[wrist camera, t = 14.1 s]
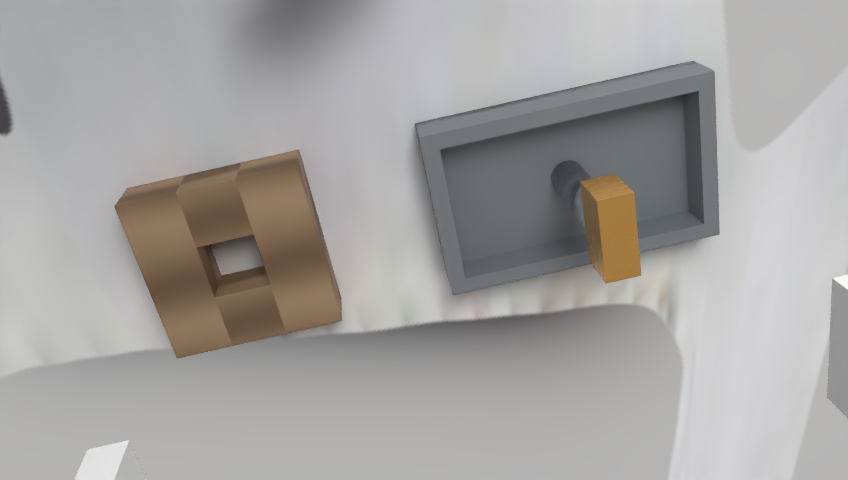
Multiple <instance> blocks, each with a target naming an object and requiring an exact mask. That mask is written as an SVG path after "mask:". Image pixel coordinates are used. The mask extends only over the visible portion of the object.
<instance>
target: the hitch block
mask: <svg viewBox="0 0 848 480" xmlns="http://www.w3.org/2000/svg"><path fill="white" fill-rule="evenodd" d="M114 207H115V209H116V212H117V214H118V216H119V219H120V221H121V224H122V226H123V229H124V231H125V233H126V236H127V238H128V241H129V243H130V246H131V248H132V250H133V253H134V255H135V258H136V260H137V263H138V265H139V267H140V270H141V272H142V275H143V277H144V280H145V282H146V284H147V287H148V289H149V292H150V294H151V297H152V299H153V301H154V304H155V306H156V309H157V311H158V314H159V316H160V318H161V321H162V323H163V326H164V328H165V331H166V333H167V335H168V338H169V340H170V343H171V345H172V348H173V350H174V352H175V354H176V357H177V358H181V357H186V356H190V355H194V354H199V353H203V352H208V351H211V350H216V349H220V348H224V347H229V346H234V345H238V344H243V343H247V342H251V341H256V340H260V339H264V338H269V337H273V336H277V335H282V334H286V333H291V332H295V331H299V330H304V329H308V328H312V327H317V326H321V325H326V324H330V323H334V322H339V321H342V313H341V296H340V292H339V289H338V285H337V282H336V278H335V275H334V271H333V268H332V264H331V261H330V257H329V254H328V250H327V247H326V243H325V240H324V236H323V233H322V229H321V226H320V222H319V219H318V215H317V212H316V208H315V205H314V201H313V198H312V194H311V191H310V187H309V184H308V180H307V177H306V173H305V170H304V166H303V163H302V159H301V156H300V152H299V150H296V151H291V152H287V153H282V154H278V155H274V156H269V157H265V158H260V159H256V160H251V161H247V162H243V163H238V164H234V165H229V166H225V167H220V168H216V169H212V170H207V171H203V172H198V173H194V174H189V175H185V176H181V177H176V178H172V179H167V180H163V181H158V182H154V183H150V184H145V185H141V186H136V187H132V188H127V189H126V191H125V192H124V194H123V195H122V197H121V198H120V199H119V201H118V202H117V204H116V205H115V206H114ZM250 235H254V237H255V240H256V243H257V246H258V249H259V252H260V255H261V258H262V261H263V264H264V266H263V267H258V268H254V269H250V270H245V271H241V272H236V273H232V274H228V275H223V276H221V274H220V271H219V268H218V266H217V263H216V260H215V257H214V255H213V252H212V249H211V246H210V244H214V243H219V242H223V241H228V240H232V239H236V238H241V237H245V236H250Z"/></svg>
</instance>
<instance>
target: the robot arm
mask: <svg viewBox="0 0 848 480" xmlns="http://www.w3.org/2000/svg"><path fill="white" fill-rule="evenodd" d="M827 392H828V393H827V398H828V399H829V400H830V401H831V402H832V403H833V404H834V405H835V406H836V407H837V408H838V409H839V410H840V411H841V412H842V413H843V414H844V415H845V416H846V417H847V418H848V274H847V275H843V276H839V277H834V278H832V296H831V320H830V344H829V367H828V391H827ZM74 480H148V479H147V476H146V474H145V472H144V470H143V468H142V466H141V464H140V462H139V460H138V458H137V455H136V453H135V451H134V449H133V447H132V445H131V443H130V441H129V440H127V441H123V442H119V443H115V444H110V445H106V446H101V447H97V448H93V449H88V450H87V452H86V455H85V457H84V459H83V461H82V464H81V466H80V468H79V470H78V472H77V475H76V477H75V479H74Z"/></svg>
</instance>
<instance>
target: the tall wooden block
mask: <svg viewBox="0 0 848 480" xmlns="http://www.w3.org/2000/svg"><path fill="white" fill-rule="evenodd" d="M551 182H552V184H553V186H554V187H555V189H556V190H557V191H558V193H559V194H560V195H561V197H562V198H563V199H564V201H565V202H566V203H567V205H568V206H569V207H570V209H571V210H572V211H573V213H574V214H575V215H576V217H577V218H578V219H579V221H580V222H581V223H582V225H583V226H584V227H585V229H586V237H587V246H588V255H589V260H590V262H591V263H592V265H593V266H594V267H595V269H596V270H597V272H598V273H599V275H600V276H601V277H602V279H603V280H604V282H605V283H610V282H615V281H619V280H623V279H628V278H632V277H636V276H641V268H640V256H639V244H638V232H637V220H636V208H635V195H634V192H633V191H632V190H631V189H630V188H629V187H628V186H627V185H626V184H625V183H624V182H623V181H622V180H621V179H620V178H619V177H618V176H617V175H616V174H610V175H606V176H601V177H597V178H592V177H591V176H590V175H589V174H588V173H587V172H586V171H585V169H584V168H583V167H582V166H581V165H580V164H579V163H577V162H576V161H572V160H567V161H563V162H561V163H559V164H558V165H557V166H556V167H555V168H554V169H553V171H552V174H551Z"/></svg>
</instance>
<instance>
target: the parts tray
mask: <svg viewBox="0 0 848 480" xmlns="http://www.w3.org/2000/svg"><path fill="white" fill-rule="evenodd" d="M415 124H416V129H417V134H418V139H419V143H420V148H421V153H422V158H423V162H424V167H425V172H426V177H427V181H428V186H429V191H430V196H431V200H432V205H433V210H434V215H435V219H436V224H437V229H438V233H439V238H440V243H441V248H442V252H443V257H444V262H445V267H446V271H447V276H448V279H449V282H450V286H451V289H452V293H453V295H457V294H461V293H465V292H470V291H474V290H478V289H483V288H487V287H491V286H496V285H500V284H505V283H509V282H513V281H518V280H522V279H526V278H531V277H535V276H540V275H544V274H548V273H553V272H557V271H561V270H566V269H570V268H574V267H579V266H583V265H588V264H592V263H591V262H590V260H589V255H588V246H587V237H586V229H585V227H584V226H583V225H582V223H581V222H580V221H579V219H578V218H577V217H576V215H575V214H574V213H573V211H572V210H571V209H570V207H569V206H568V205H567V203H566V202H565V201H564V199H563V198H562V197H561V195H560V194H559V193H558V191H557V190H556V189H555V187H554V186H553V184H552V182H551V174H552V171H553V169H554V168H555V167H556V166H557V165H558V164H559V163H561V162H563V161H567V160H572V161H576V162H577V163H579V164H580V165H581V166H582V167H583V168H584V169H585V171H586V172H587V173H588V174H589V175H590V176H591V177H592V178H597V177H601V176H606V175H610V174H616V175H617V176H618V177H619V178H620V179H621V180H622V181H623V182H624V183H625V184H626V185H627V186H628V187H629V188H630V189H631V190H632V191H633V192H634V195H635V208H636V220H637V232H638V244H639V253H640V252H644V251H649V250H653V249H657V248H662V247H666V246H671V245H675V244H679V243H684V242H688V241H692V240H697V239H701V238H706V237H710V236H714V235H719V203H718V170H717V138H716V105H715V73H714V70H711V69H709V68H707V67H705V66H703V65H701V64H698V63H696V62H694V61H690V62H686V63H681V64H677V65H672V66H668V67H664V68H659V69H655V70H650V71H646V72H641V73H637V74H633V75H628V76H624V77H619V78H615V79H610V80H606V81H602V82H597V83H593V84H588V85H584V86H579V87H575V88H570V89H566V90H562V91H557V92H553V93H548V94H544V95H539V96H535V97H531V98H526V99H522V100H517V101H513V102H508V103H504V104H500V105H495V106H491V107H486V108H482V109H477V110H473V111H469V112H464V113H460V114H455V115H451V116H446V117H442V118H438V119H433V120H429V121H424V122H420V123H415Z"/></svg>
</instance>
